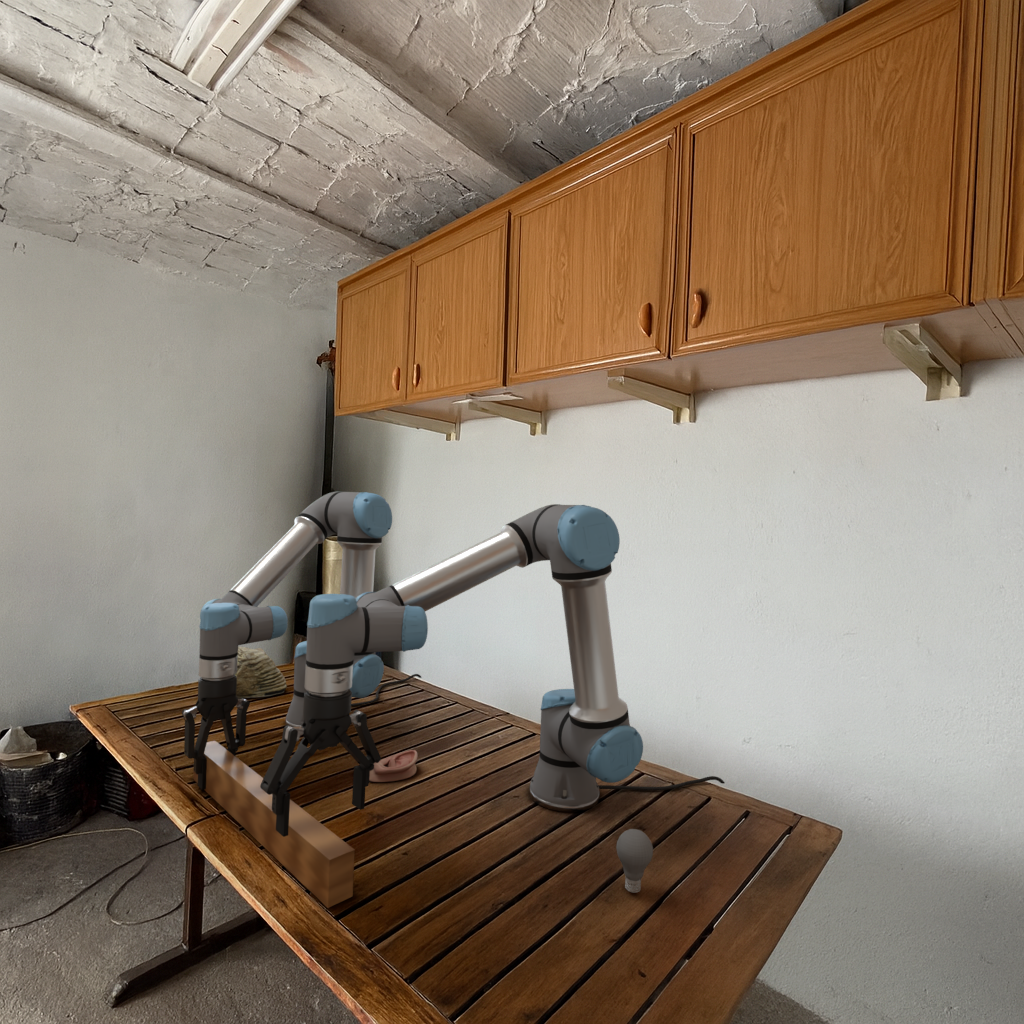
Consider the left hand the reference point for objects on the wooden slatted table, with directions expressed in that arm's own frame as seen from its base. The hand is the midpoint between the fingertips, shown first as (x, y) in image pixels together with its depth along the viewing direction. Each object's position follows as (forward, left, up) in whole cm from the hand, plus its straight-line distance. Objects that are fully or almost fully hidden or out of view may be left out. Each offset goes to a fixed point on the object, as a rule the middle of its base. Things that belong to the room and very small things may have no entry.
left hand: (214, 783), depth 136 cm
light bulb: (-29, +85, -1) cm, 90 cm away
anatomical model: (-30, +21, -1) cm, 37 cm away
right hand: (+5, +46, +10) cm, 47 cm away
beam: (+2, +23, -1) cm, 23 cm away
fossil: (-38, -51, -1) cm, 64 cm away
